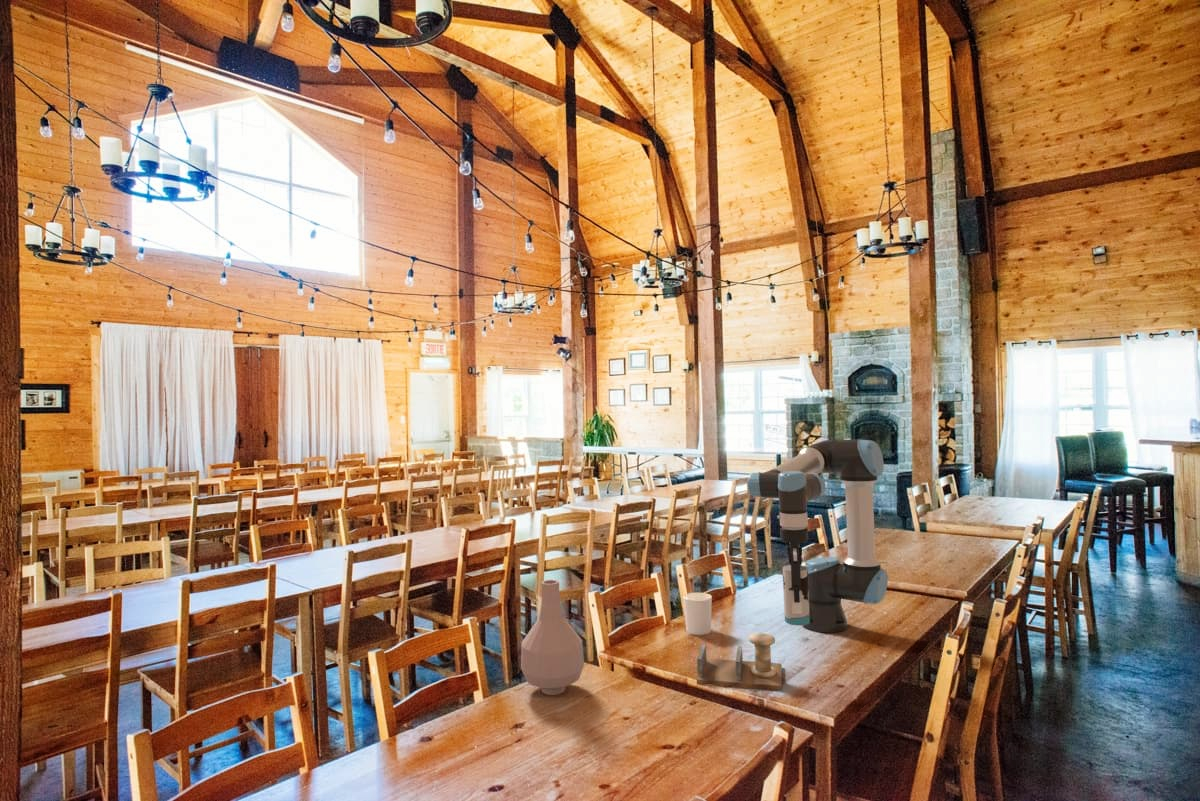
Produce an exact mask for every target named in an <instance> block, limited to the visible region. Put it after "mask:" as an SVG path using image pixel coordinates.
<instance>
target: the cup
mask: <svg viewBox="0 0 1200 801" xmlns="http://www.w3.org/2000/svg"><path fill="white" fill-rule="evenodd" d="M800 574H801V587H802V589H801V590H802V613H803V614H792V595H791V590H789V588H791V587H792V580H791V565H790V564H789V565H788V564H787V565H784V566H782V581H783V582H782V588H783V589H782V590H783V607H784V622H785V623H786V624H789V625H791V626H802V625H807V624H809V623H810V614H809V590H808V568H807V567H805V565H802V564H801V565H800ZM797 586H798V585H797Z"/></svg>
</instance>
